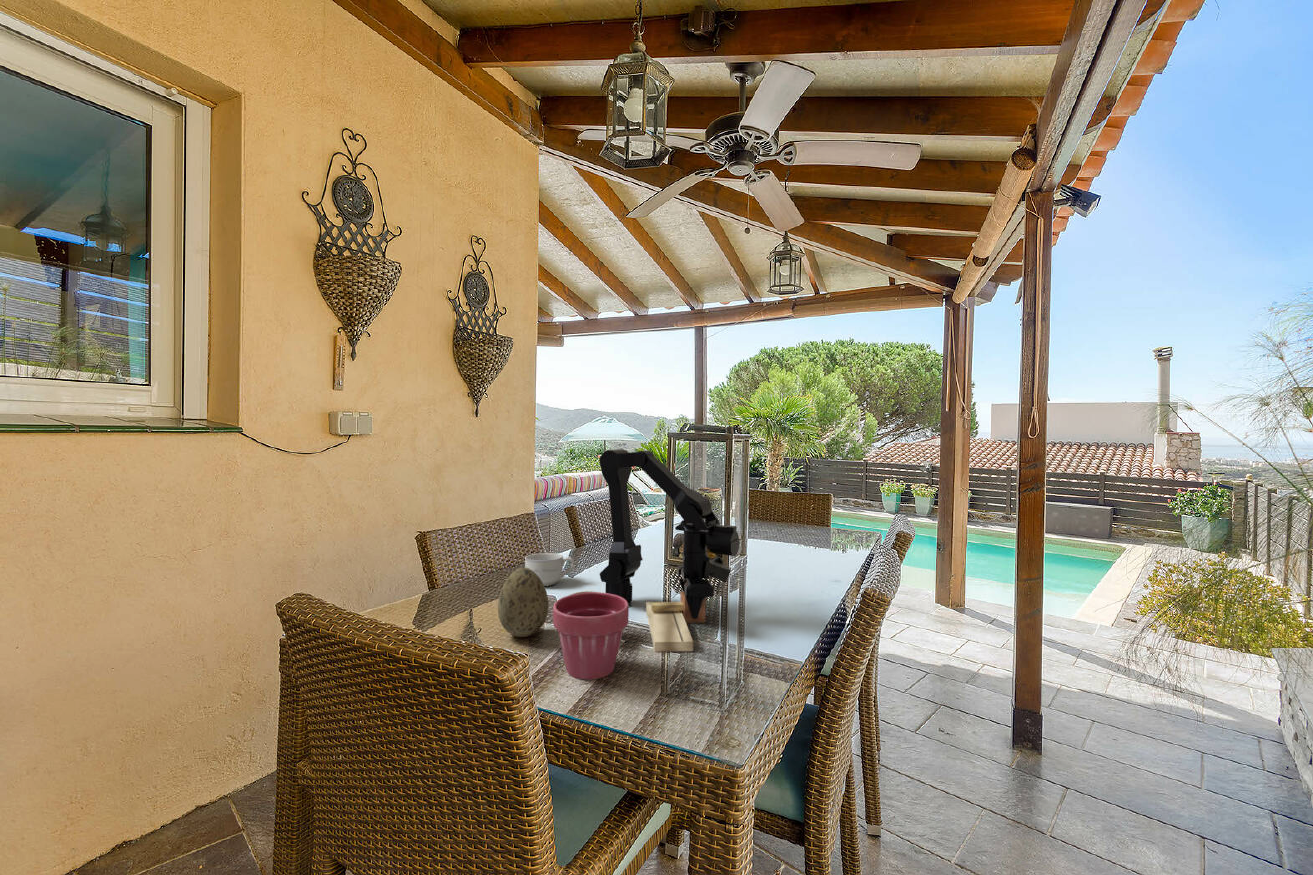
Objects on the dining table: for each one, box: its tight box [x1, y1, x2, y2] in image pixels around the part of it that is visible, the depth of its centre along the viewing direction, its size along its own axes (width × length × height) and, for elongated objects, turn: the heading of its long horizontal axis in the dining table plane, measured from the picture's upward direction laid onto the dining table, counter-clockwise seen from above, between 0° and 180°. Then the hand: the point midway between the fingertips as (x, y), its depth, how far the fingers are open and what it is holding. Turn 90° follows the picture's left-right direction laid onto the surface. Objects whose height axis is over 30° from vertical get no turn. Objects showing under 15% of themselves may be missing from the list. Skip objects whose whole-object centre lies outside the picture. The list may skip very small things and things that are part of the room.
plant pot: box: [552, 591, 630, 681], centre depth 109 cm, size 14×14×13 cm
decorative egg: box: [497, 566, 550, 638], centre depth 125 cm, size 11×11×15 cm
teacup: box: [524, 552, 576, 587], centre depth 163 cm, size 14×11×8 cm
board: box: [645, 601, 694, 653], centre depth 131 cm, size 8×25×2 cm, turn 5°
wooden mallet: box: [651, 590, 707, 624], centre depth 137 cm, size 12×5×6 cm, turn 99°
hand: (693, 614), depth 137 cm, fingers closed on wooden mallet, 5 cm apart
